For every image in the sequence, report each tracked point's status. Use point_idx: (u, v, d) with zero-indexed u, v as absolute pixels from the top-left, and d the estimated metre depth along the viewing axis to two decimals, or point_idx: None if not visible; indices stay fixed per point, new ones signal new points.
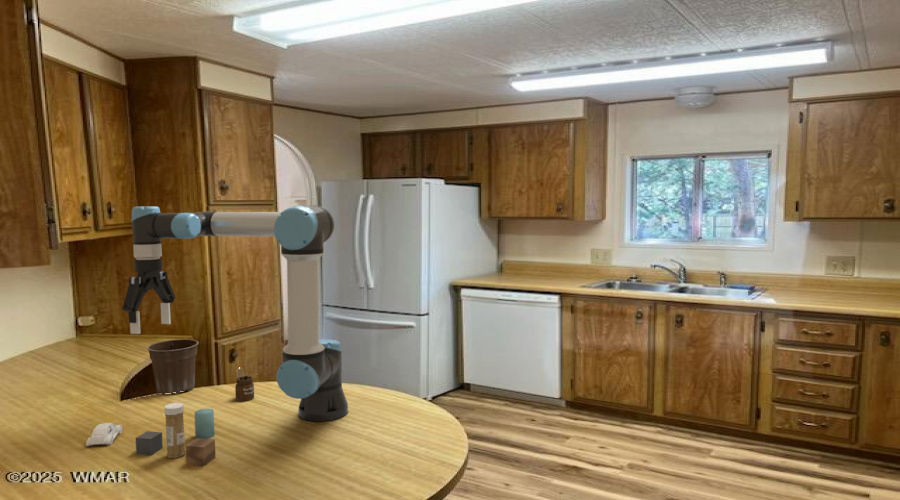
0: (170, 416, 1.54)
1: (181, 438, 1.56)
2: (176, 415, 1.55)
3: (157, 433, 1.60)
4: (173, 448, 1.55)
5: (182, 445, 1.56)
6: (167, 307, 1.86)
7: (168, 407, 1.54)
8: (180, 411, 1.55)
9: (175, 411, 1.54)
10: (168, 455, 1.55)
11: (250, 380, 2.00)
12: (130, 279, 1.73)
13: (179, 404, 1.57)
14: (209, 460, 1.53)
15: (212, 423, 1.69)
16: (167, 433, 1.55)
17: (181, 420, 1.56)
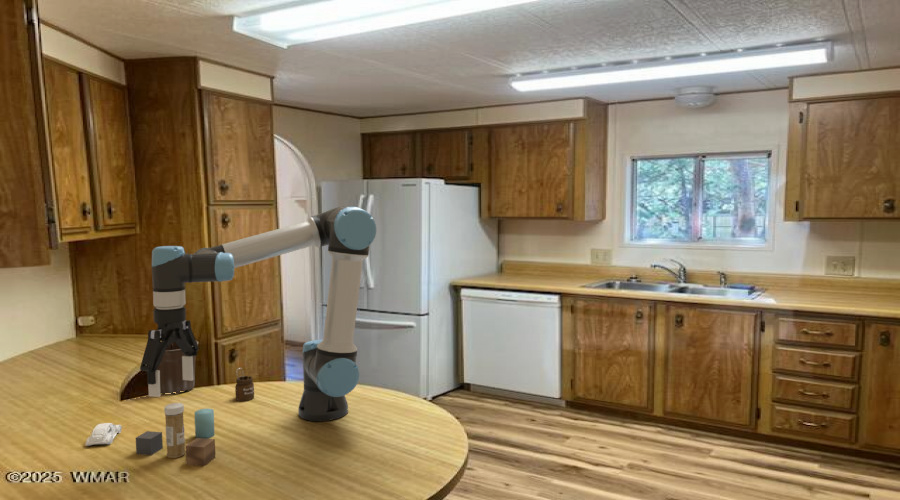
0: (170, 416, 1.54)
1: (181, 438, 1.56)
2: (176, 415, 1.55)
3: (157, 433, 1.60)
4: (173, 448, 1.55)
5: (182, 445, 1.56)
6: (190, 361, 1.61)
7: (168, 407, 1.54)
8: (180, 411, 1.55)
9: (175, 411, 1.54)
10: (168, 455, 1.55)
11: (250, 380, 2.00)
12: (149, 333, 1.48)
13: (179, 404, 1.57)
14: (209, 460, 1.53)
15: (212, 423, 1.69)
16: (167, 433, 1.55)
17: (181, 420, 1.56)
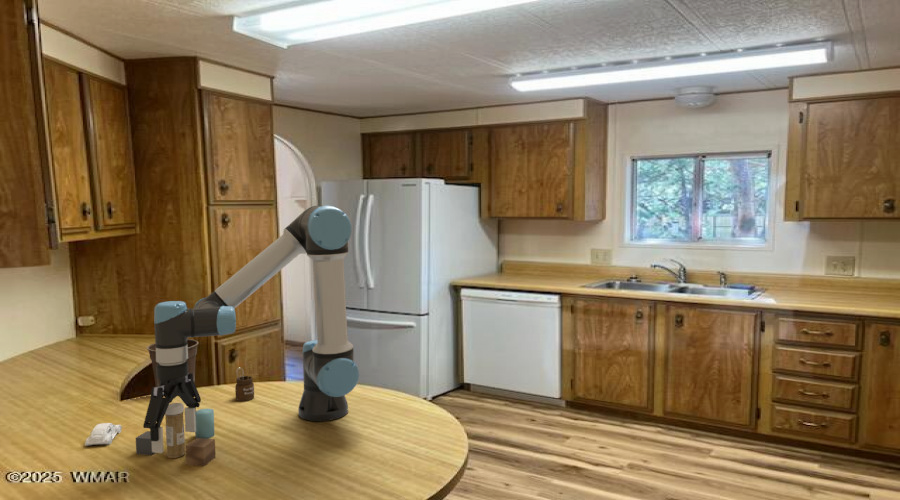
0: (170, 416, 1.54)
1: (181, 438, 1.56)
2: (176, 415, 1.55)
3: None
4: (173, 448, 1.55)
5: (182, 445, 1.56)
6: (192, 413, 1.63)
7: (168, 407, 1.54)
8: (180, 411, 1.55)
9: (175, 411, 1.54)
10: (168, 455, 1.55)
11: (250, 380, 2.00)
12: (152, 390, 1.49)
13: (179, 404, 1.57)
14: (209, 460, 1.53)
15: (212, 423, 1.69)
16: (167, 433, 1.55)
17: (181, 420, 1.56)
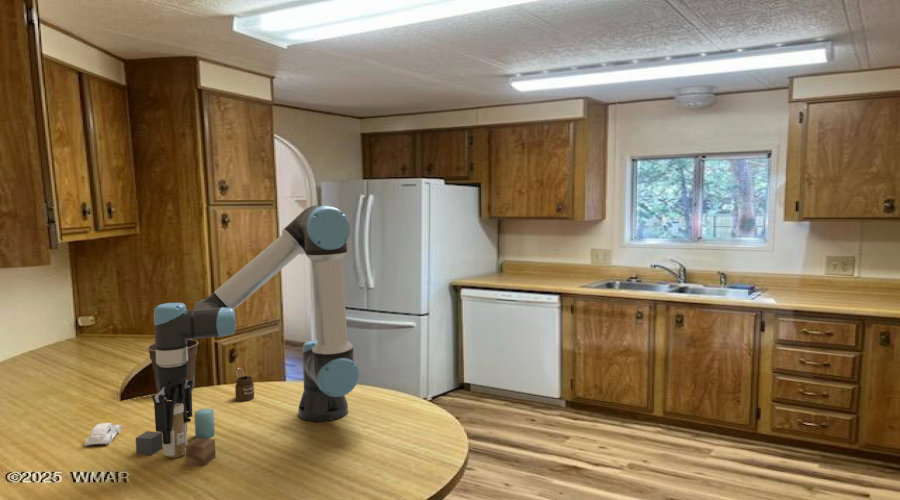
0: None
1: (181, 438, 1.56)
2: (176, 415, 1.55)
3: (157, 433, 1.60)
4: None
5: (182, 445, 1.56)
6: None
7: None
8: (180, 411, 1.55)
9: (175, 410, 1.54)
10: (168, 455, 1.55)
11: (250, 380, 2.00)
12: (153, 398, 1.49)
13: (179, 404, 1.57)
14: (209, 460, 1.53)
15: (212, 423, 1.69)
16: None
17: (181, 420, 1.56)
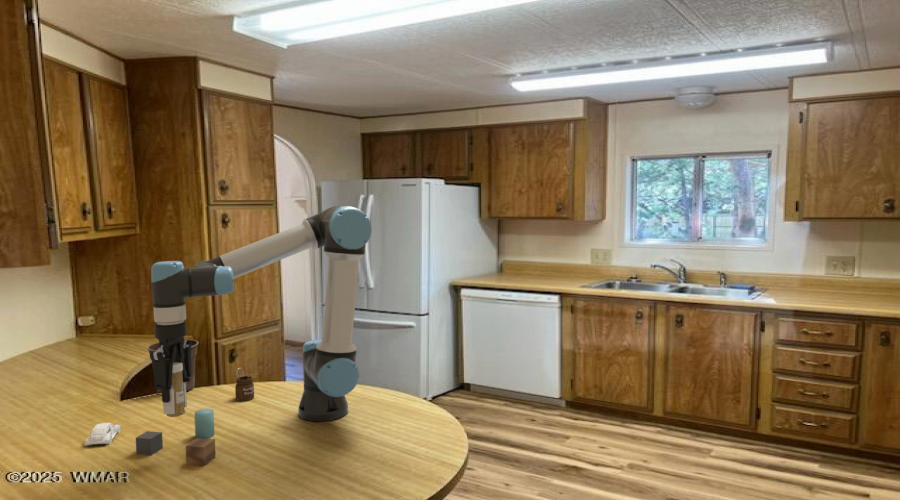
0: None
1: (181, 397, 1.55)
2: (175, 373, 1.54)
3: (157, 433, 1.60)
4: None
5: (182, 404, 1.56)
6: (183, 388, 1.58)
7: None
8: (179, 370, 1.54)
9: (174, 369, 1.53)
10: (168, 414, 1.55)
11: (250, 380, 2.00)
12: (152, 356, 1.49)
13: (178, 363, 1.56)
14: (209, 460, 1.53)
15: (212, 423, 1.69)
16: None
17: (180, 379, 1.55)
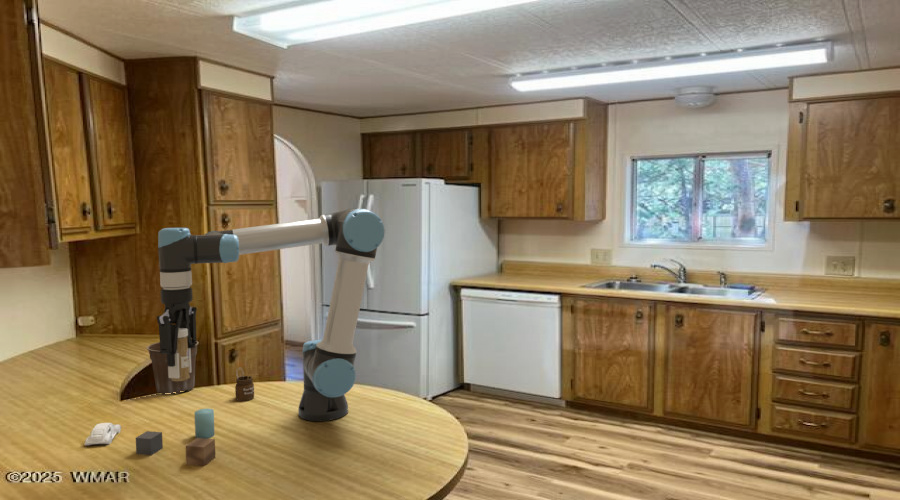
0: None
1: (185, 362, 1.57)
2: (180, 338, 1.56)
3: (157, 433, 1.60)
4: None
5: (186, 369, 1.58)
6: None
7: None
8: (184, 335, 1.56)
9: (179, 334, 1.55)
10: (172, 378, 1.57)
11: (250, 380, 2.00)
12: (158, 319, 1.51)
13: (183, 328, 1.58)
14: (209, 460, 1.53)
15: (212, 423, 1.69)
16: None
17: (185, 344, 1.57)
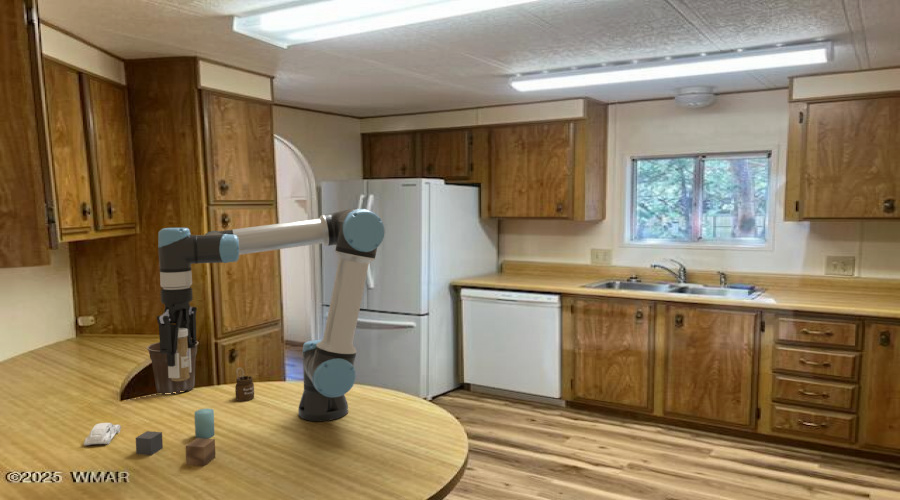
0: None
1: (185, 362, 1.57)
2: (180, 338, 1.56)
3: (157, 433, 1.60)
4: None
5: (186, 369, 1.58)
6: None
7: None
8: (184, 334, 1.56)
9: (179, 334, 1.55)
10: (172, 378, 1.57)
11: (250, 380, 2.00)
12: (158, 319, 1.51)
13: (183, 328, 1.58)
14: (209, 460, 1.53)
15: (212, 423, 1.69)
16: None
17: (185, 344, 1.57)
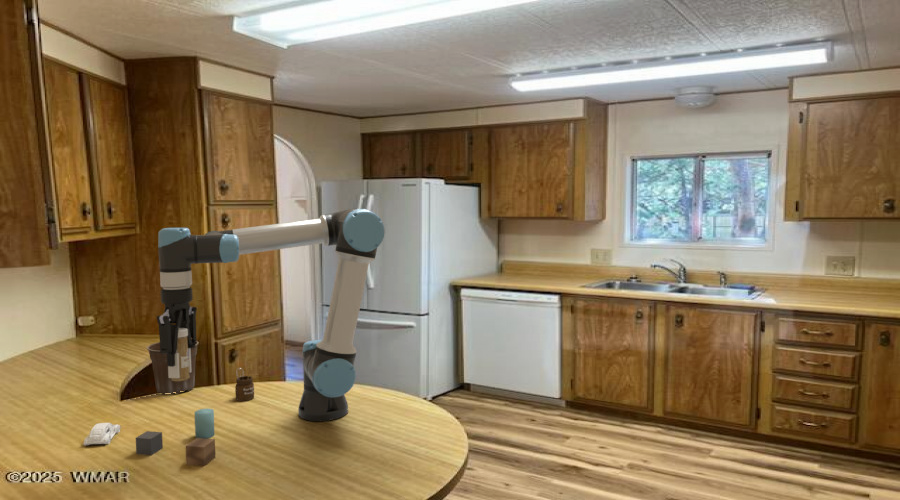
0: None
1: (185, 362, 1.57)
2: (180, 338, 1.56)
3: (157, 433, 1.60)
4: None
5: (186, 369, 1.58)
6: None
7: None
8: (184, 334, 1.56)
9: (179, 334, 1.55)
10: (172, 378, 1.57)
11: (250, 380, 2.00)
12: (158, 319, 1.51)
13: (183, 328, 1.58)
14: (209, 460, 1.53)
15: (212, 423, 1.69)
16: None
17: (185, 344, 1.57)
